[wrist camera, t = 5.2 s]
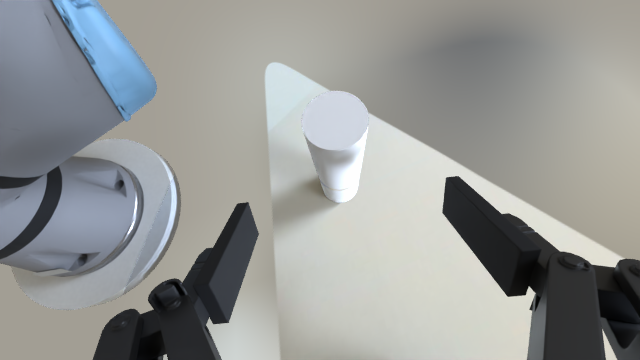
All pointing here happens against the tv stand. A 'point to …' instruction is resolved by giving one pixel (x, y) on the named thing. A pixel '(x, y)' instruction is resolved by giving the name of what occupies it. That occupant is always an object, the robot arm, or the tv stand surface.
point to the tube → (336, 141)
